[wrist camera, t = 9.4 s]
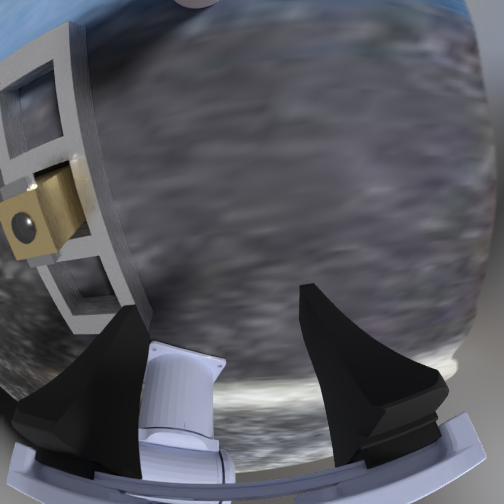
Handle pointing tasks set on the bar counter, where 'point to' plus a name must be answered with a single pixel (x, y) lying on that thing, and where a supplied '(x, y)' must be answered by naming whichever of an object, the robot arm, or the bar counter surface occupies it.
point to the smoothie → (196, 3)
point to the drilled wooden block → (41, 215)
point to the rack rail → (84, 172)
